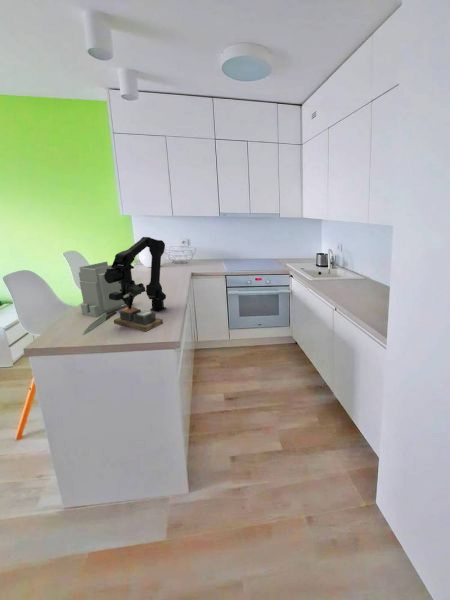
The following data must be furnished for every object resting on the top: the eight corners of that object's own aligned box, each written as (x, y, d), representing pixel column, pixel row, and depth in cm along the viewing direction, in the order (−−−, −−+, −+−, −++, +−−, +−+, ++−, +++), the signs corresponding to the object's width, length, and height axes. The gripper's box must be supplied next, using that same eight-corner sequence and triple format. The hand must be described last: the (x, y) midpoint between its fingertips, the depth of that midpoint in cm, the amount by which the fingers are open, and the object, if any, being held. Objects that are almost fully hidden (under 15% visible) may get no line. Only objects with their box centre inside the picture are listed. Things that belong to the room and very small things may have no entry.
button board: (132, 316, 156) (131, 305, 154) (162, 323, 145) (161, 312, 143) (114, 323, 146) (112, 312, 144) (145, 331, 135) (144, 319, 133)
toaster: (78, 313, 162) (70, 268, 154) (114, 300, 185) (109, 260, 177) (100, 317, 155) (92, 270, 147) (135, 303, 177) (129, 261, 169)
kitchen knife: (114, 307, 160) (79, 327, 132) (115, 307, 160) (82, 327, 132) (114, 314, 161) (81, 335, 133) (116, 314, 161) (83, 335, 133)
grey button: (145, 318, 146) (144, 310, 144) (152, 319, 143) (151, 312, 142) (137, 321, 141) (136, 313, 140) (144, 323, 139) (144, 315, 138)
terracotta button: (131, 313, 150) (130, 306, 149) (137, 315, 148) (137, 307, 147) (123, 316, 146) (122, 309, 145) (130, 318, 144) (129, 310, 142)
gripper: (121, 284, 129) (126, 317, 134) (151, 276, 145) (154, 305, 149) (105, 282, 135) (110, 313, 140) (136, 274, 150) (139, 302, 155)
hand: (129, 308), depth 146 cm, fingers closed, pressing on terracotta button
